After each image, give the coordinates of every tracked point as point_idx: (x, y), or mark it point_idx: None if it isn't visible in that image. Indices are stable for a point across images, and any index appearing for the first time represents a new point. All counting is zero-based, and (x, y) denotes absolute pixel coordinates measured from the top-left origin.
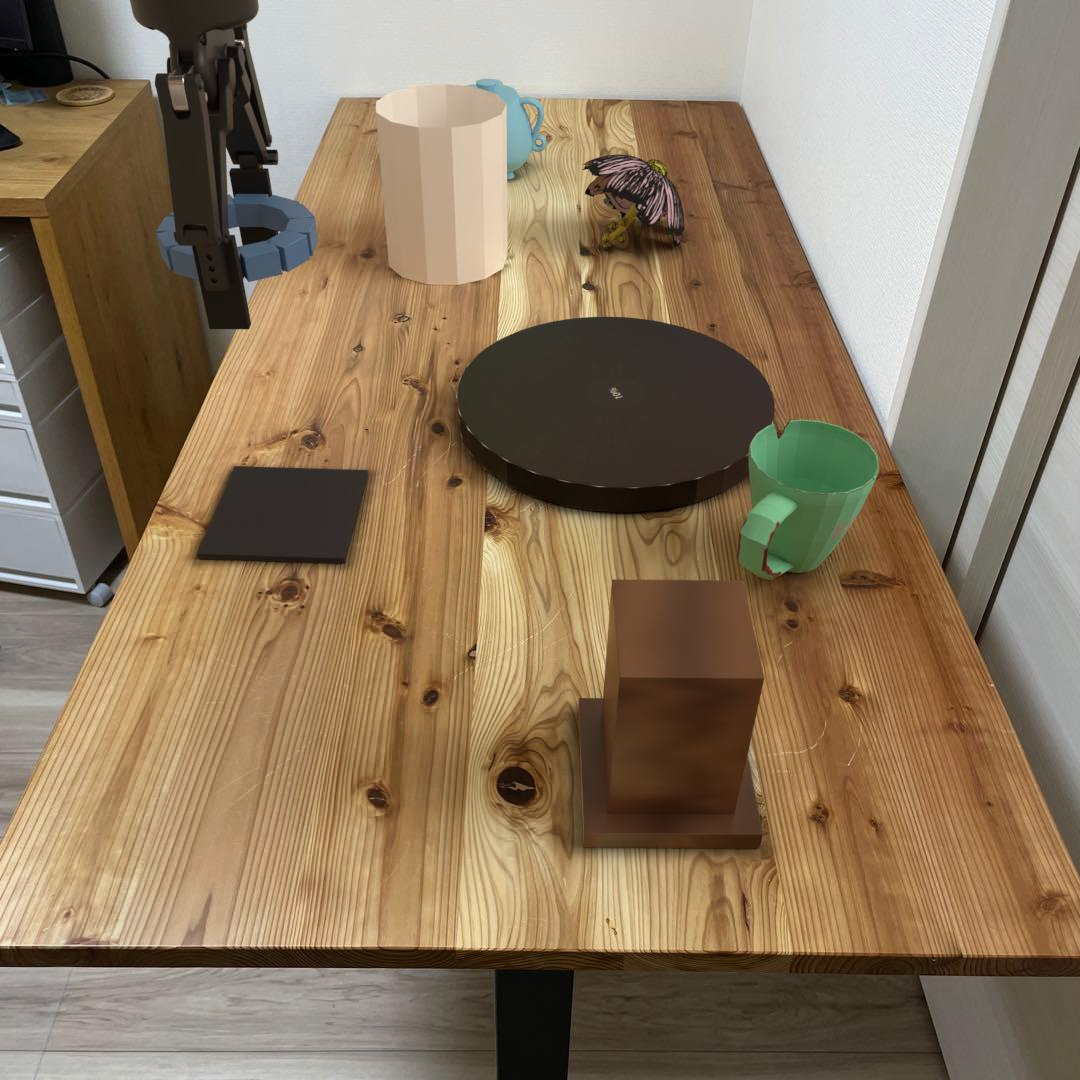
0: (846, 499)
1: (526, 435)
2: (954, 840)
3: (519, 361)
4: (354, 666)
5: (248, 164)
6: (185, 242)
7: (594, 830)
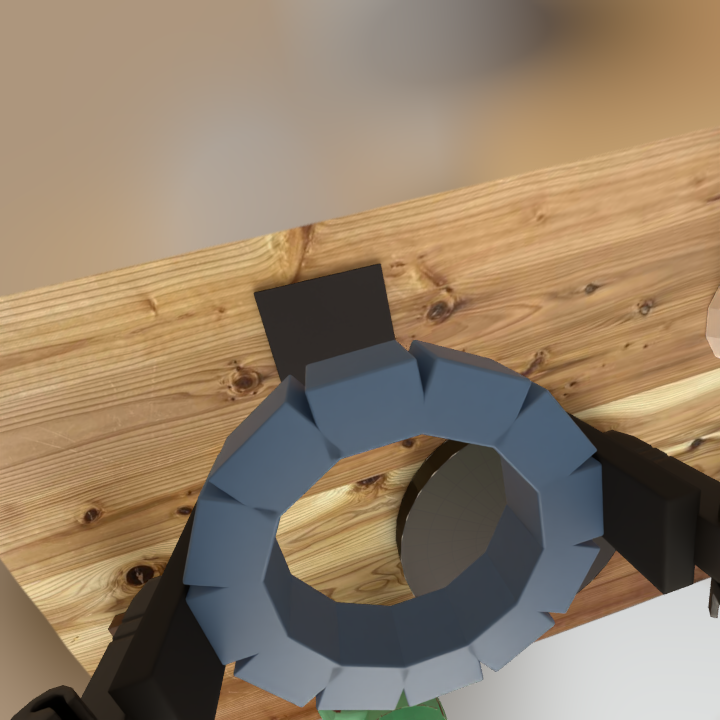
0: None
1: (453, 496)
2: None
3: None
4: (190, 458)
5: (709, 551)
6: None
7: (112, 632)
